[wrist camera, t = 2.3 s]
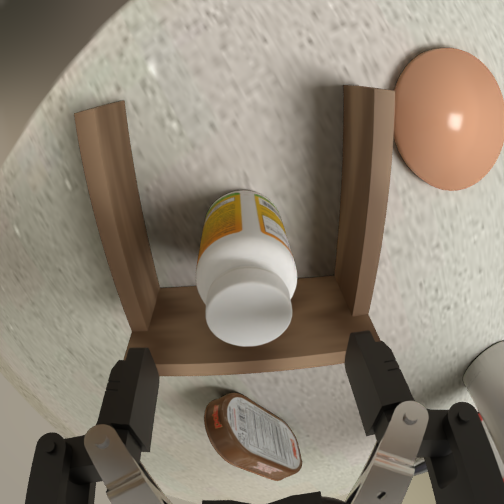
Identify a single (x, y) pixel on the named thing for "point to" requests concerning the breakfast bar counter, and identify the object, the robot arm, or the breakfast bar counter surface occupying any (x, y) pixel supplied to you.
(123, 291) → the cubby
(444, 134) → the coaster
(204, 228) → the supplement bottle
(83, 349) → the breakfast bar counter surface
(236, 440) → the tin
